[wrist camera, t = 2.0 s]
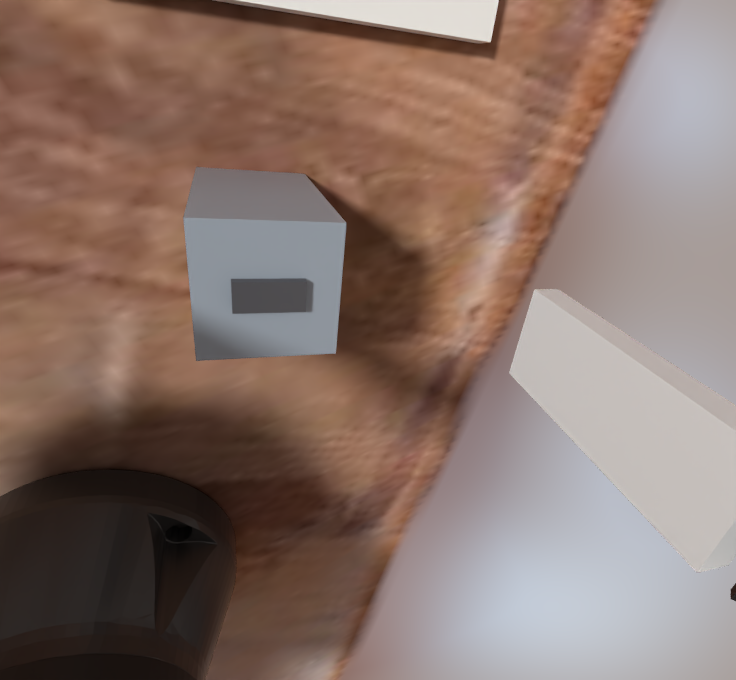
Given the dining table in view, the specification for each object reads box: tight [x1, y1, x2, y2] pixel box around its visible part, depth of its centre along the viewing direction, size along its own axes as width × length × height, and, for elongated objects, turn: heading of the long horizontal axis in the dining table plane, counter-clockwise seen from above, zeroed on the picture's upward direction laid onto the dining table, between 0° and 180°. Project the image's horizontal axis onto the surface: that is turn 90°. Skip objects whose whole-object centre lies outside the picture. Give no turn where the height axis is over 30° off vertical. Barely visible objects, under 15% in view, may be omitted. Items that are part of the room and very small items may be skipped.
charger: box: [183, 167, 346, 361], centre depth 17 cm, size 4×4×8 cm
